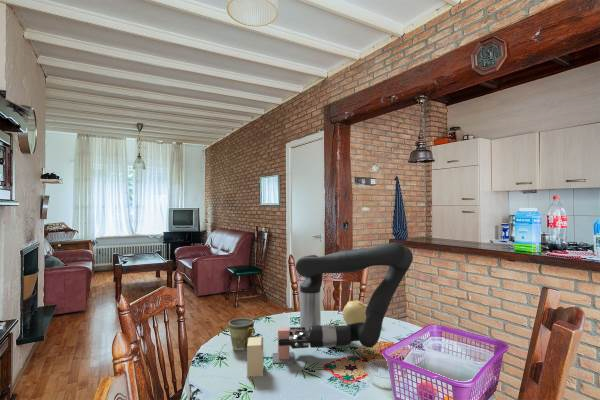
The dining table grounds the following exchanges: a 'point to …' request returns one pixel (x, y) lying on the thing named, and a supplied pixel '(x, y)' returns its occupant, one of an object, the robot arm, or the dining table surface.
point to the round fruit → (354, 312)
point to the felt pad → (278, 361)
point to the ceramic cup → (241, 332)
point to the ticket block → (255, 357)
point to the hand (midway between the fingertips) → (278, 337)
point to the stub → (283, 350)
